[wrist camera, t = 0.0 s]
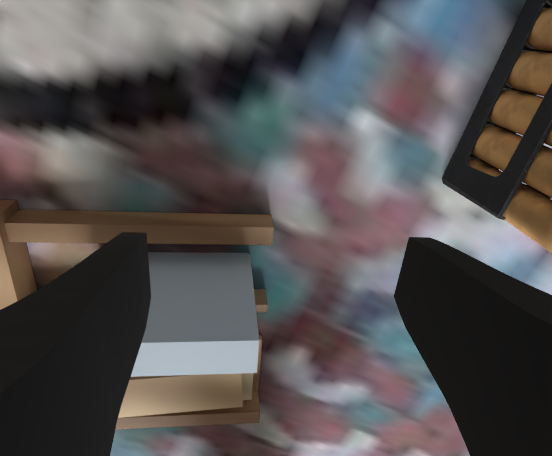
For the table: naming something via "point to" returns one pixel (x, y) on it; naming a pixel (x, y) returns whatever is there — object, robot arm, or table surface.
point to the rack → (160, 230)
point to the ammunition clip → (513, 132)
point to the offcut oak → (181, 394)
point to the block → (199, 316)
